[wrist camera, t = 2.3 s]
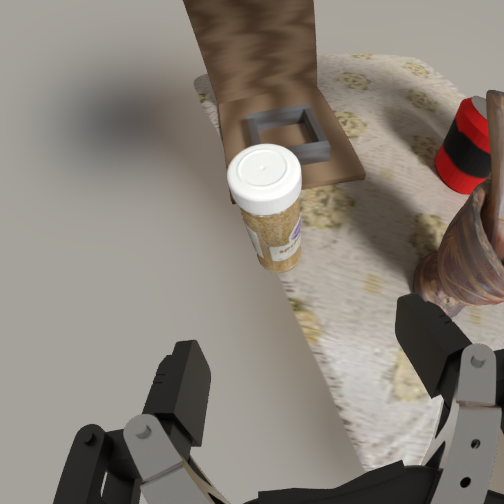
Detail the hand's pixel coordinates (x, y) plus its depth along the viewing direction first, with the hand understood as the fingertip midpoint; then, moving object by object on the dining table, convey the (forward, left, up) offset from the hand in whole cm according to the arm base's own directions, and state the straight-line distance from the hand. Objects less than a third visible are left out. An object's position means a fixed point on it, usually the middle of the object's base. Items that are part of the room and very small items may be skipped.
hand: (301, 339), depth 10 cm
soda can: (-27, -16, -16) cm, 35 cm away
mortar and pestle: (-16, -4, -16) cm, 23 cm away
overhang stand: (-4, -27, -15) cm, 32 cm away
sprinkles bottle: (0, -10, -16) cm, 18 cm away
